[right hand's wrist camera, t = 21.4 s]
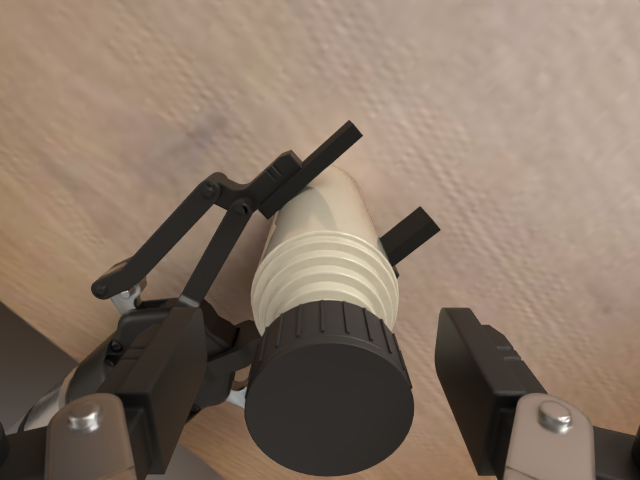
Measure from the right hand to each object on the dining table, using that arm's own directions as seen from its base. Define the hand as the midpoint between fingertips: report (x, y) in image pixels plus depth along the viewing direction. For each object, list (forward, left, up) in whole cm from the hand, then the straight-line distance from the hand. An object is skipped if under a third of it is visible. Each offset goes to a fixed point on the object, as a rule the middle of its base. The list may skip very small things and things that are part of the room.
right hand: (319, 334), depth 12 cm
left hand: (-3, -4, -12) cm, 13 cm away
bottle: (0, +1, -18) cm, 18 cm away
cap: (0, +1, +2) cm, 2 cm away
